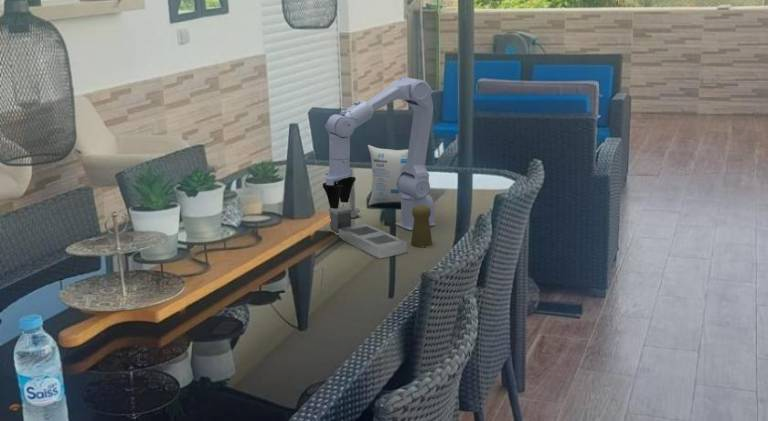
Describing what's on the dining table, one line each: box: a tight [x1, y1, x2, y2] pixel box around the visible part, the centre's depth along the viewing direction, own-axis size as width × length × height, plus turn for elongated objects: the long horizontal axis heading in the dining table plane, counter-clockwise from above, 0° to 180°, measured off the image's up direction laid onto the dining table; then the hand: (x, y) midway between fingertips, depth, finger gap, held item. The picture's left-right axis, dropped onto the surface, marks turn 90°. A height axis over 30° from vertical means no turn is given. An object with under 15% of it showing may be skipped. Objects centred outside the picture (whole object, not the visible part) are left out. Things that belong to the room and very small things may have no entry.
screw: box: [348, 175, 361, 219], centre depth 281 cm, size 13×5×5 cm
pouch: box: [367, 144, 409, 206], centre depth 291 cm, size 8×19×20 cm, turn 74°
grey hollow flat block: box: [338, 223, 408, 260], centre depth 255 cm, size 9×22×3 cm, turn 32°
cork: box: [410, 205, 433, 248], centre depth 254 cm, size 6×6×11 cm
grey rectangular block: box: [328, 205, 352, 233], centre depth 267 cm, size 5×5×7 cm
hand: (339, 205), depth 257 cm, fingers open, 7 cm apart
